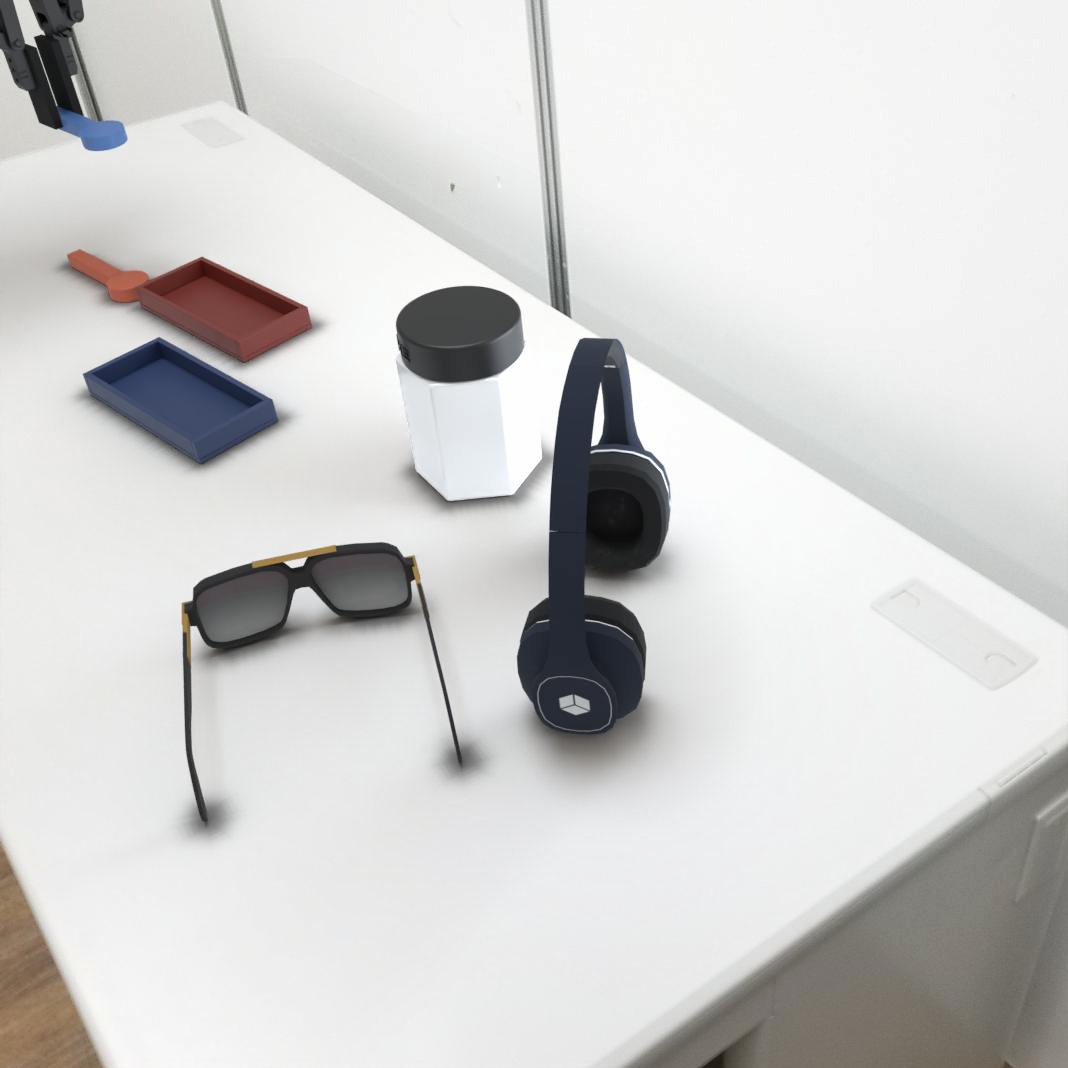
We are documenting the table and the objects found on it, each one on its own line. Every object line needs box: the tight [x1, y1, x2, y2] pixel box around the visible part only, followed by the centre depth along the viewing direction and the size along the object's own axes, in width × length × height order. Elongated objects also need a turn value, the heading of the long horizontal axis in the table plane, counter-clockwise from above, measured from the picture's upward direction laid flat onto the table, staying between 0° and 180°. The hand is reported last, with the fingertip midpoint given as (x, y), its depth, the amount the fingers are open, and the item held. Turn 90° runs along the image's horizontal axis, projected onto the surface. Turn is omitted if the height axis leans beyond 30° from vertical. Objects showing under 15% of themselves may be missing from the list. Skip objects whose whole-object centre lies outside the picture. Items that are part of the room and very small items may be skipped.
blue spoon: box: [56, 105, 128, 152], centre depth 105 cm, size 11×4×1 cm, turn 49°
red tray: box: [134, 256, 313, 363], centre depth 105 cm, size 15×7×2 cm, turn 48°
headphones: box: [516, 337, 672, 735], centre depth 69 cm, size 20×7×18 cm, turn 172°
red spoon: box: [66, 248, 150, 303], centre depth 111 cm, size 11×4×1 cm, turn 48°
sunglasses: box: [181, 541, 463, 823], centre depth 70 cm, size 14×15×5 cm
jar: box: [394, 285, 543, 502], centre depth 84 cm, size 9×8×12 cm
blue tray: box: [82, 336, 279, 465], centre depth 95 cm, size 15×7×2 cm, turn 48°
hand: (61, 120), depth 106 cm, fingers closed on blue spoon
